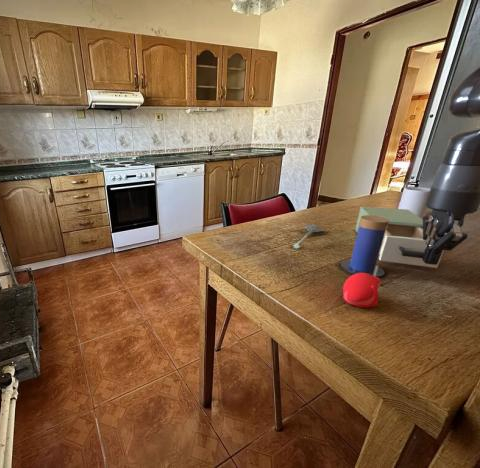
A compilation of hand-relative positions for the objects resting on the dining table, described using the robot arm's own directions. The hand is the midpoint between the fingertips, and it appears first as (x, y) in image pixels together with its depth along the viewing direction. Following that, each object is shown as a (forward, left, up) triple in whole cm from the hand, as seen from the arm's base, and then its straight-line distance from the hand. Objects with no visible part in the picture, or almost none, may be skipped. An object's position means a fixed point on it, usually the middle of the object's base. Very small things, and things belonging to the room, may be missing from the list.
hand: (429, 262), depth 58 cm
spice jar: (+12, -1, -4) cm, 12 cm away
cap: (+15, +15, -5) cm, 22 cm away
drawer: (+1, -11, -4) cm, 12 cm away
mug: (-16, -59, -5) cm, 61 cm away
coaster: (+12, -1, -4) cm, 13 cm away
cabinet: (+1, -25, -4) cm, 25 cm away
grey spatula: (+23, -19, -5) cm, 30 cm away
